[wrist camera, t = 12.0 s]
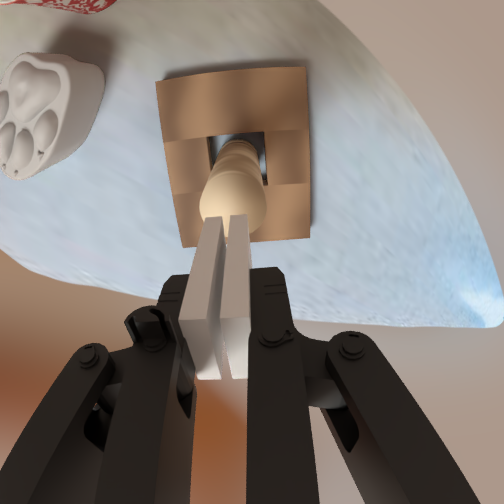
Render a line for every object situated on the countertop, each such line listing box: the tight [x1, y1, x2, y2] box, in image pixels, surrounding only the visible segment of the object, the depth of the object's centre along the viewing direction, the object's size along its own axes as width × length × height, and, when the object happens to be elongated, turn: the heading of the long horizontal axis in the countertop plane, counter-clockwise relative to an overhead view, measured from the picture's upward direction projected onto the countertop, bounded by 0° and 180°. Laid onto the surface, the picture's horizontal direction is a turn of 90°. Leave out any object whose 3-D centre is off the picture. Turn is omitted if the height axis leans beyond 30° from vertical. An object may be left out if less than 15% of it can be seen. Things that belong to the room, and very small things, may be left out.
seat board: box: [155, 67, 310, 248], centre depth 29 cm, size 14×18×2 cm
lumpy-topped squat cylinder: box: [0, 52, 105, 180], centre depth 22 cm, size 10×13×9 cm
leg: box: [199, 139, 267, 237], centre depth 24 cm, size 4×4×14 cm
